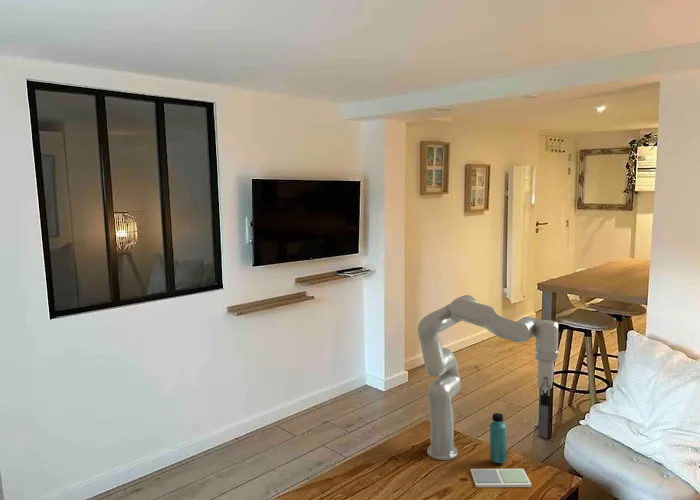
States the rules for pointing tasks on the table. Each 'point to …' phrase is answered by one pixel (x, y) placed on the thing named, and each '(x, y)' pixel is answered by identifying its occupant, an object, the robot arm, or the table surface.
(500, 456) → the beverage bottle
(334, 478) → the table surface
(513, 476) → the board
